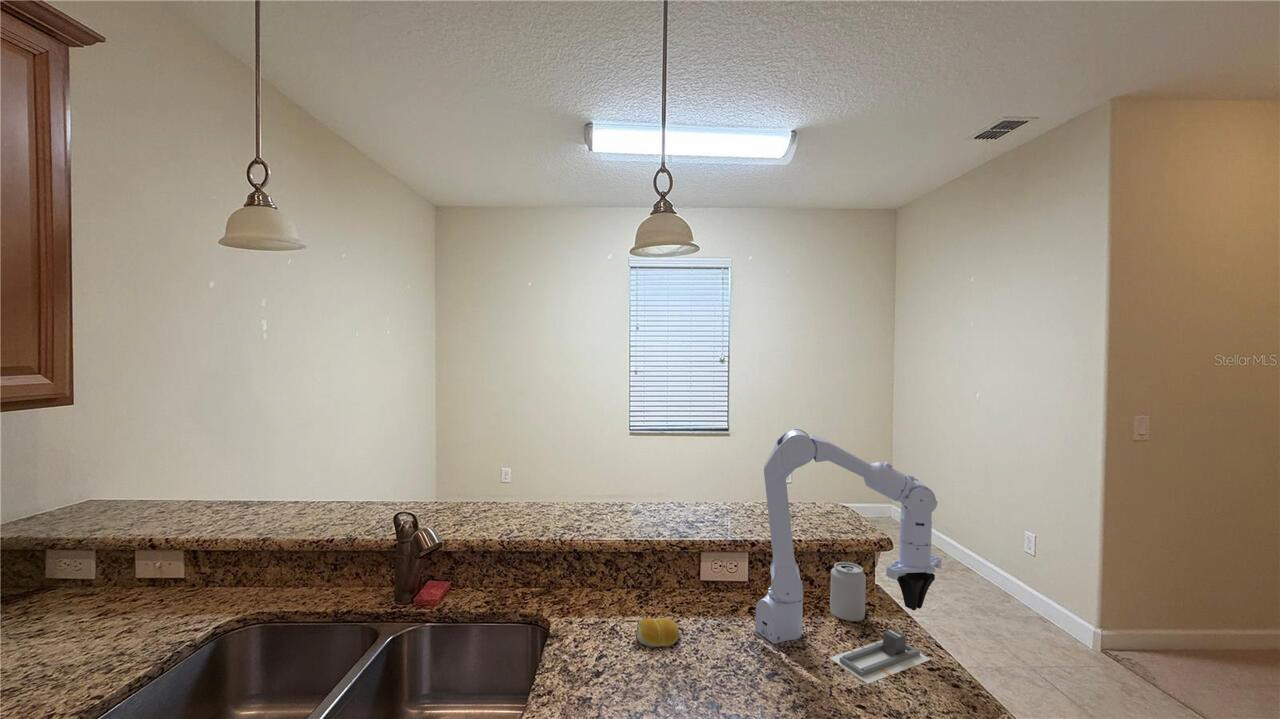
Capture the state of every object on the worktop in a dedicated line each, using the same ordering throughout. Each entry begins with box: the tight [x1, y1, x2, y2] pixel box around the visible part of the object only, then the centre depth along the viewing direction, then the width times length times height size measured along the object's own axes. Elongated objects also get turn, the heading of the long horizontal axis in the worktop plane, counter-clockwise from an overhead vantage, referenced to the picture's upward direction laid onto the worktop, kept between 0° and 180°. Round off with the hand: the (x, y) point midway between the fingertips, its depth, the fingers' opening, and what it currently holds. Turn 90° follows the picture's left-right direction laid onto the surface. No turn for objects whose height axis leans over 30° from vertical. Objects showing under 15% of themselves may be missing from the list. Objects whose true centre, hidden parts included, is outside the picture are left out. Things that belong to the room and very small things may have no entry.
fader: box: [882, 628, 907, 657], centre depth 106 cm, size 3×3×4 cm
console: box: [829, 639, 932, 685], centre depth 104 cm, size 18×9×2 cm, turn 117°
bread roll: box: [635, 617, 680, 648], centre depth 113 cm, size 8×9×4 cm
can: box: [829, 561, 867, 622], centre depth 123 cm, size 8×8×12 cm
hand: (913, 607), depth 109 cm, fingers closed
